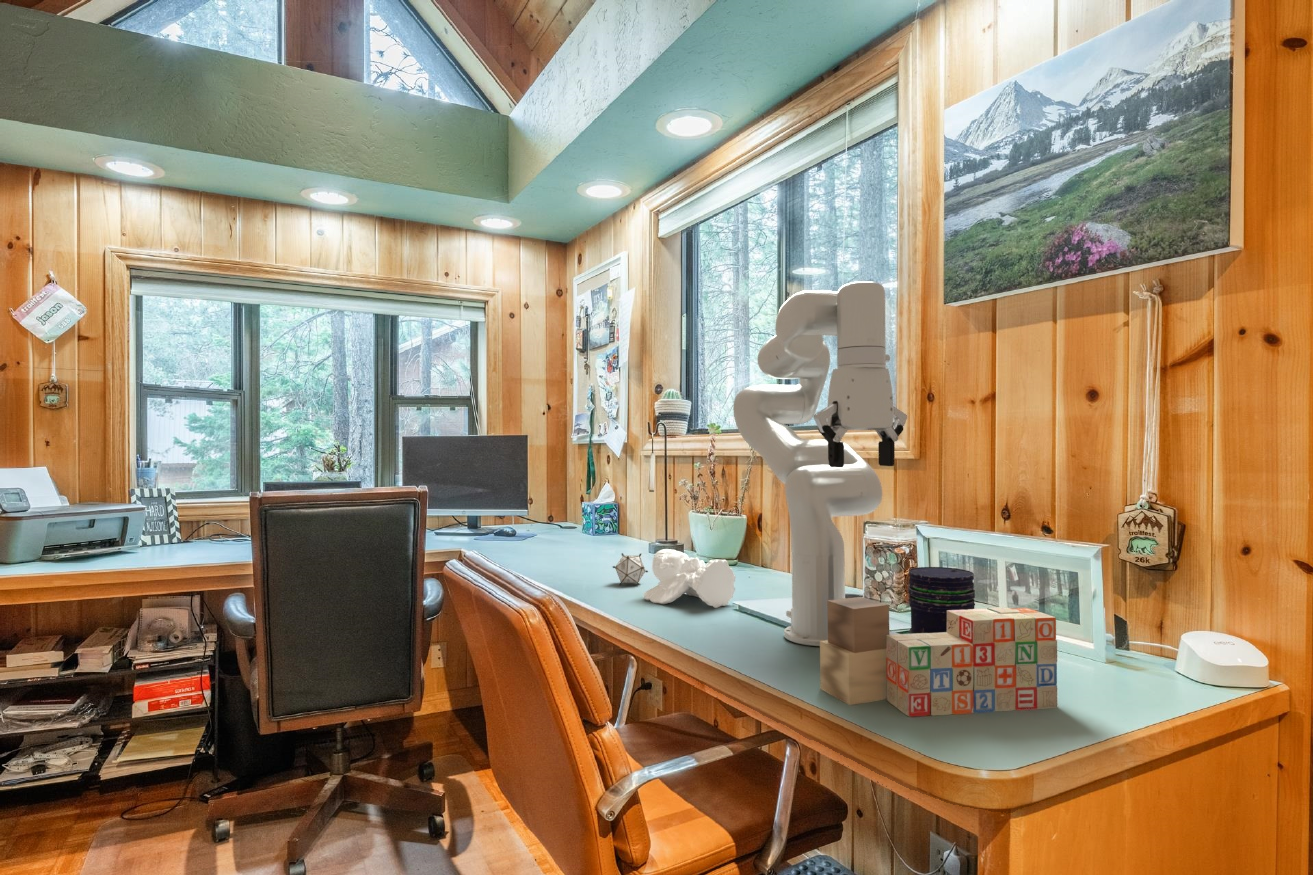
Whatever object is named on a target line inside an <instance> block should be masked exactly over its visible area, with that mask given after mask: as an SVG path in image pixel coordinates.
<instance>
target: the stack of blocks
mask: <svg viewBox="0 0 1313 875" xmlns="http://www.w3.org/2000/svg"><path fill="white" fill-rule="evenodd" d="M1057 670H1058V640H1057V618H1056V617H1055V616H1053V615H1050V614H1048V613H1044V612H1040V611H1038V610H1034V609H1032V608H1029V607H1006V606H1005V607H1004V606H999V607H998V606H997V607H986V608H974V609H968V610H947V632H940V633H916V634H910V633H907V634H906V633H903V634H902V633H899V634H895V635H887V657H886V677H887V699H886V701H887V702H888V703H890V704H891V705H892V706H894V707H895V708H896V709H898V711H900V712H901V713H903V714H904V715H905V716H907V717H909V718H910V717H911V718H912V717H924V716H946V715H966V714H974V713H975V714H977V713H989V712H990V713H991V712H1004V711H1006V712H1007V711H1023V710H1036V709H1038V710H1039V709H1040V710H1041V709H1054V708H1058V707H1059V706H1058V672H1057Z"/></svg>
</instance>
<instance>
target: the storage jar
mask: <svg viewBox="0 0 1313 875" xmlns="http://www.w3.org/2000/svg"><path fill="white" fill-rule="evenodd" d="M908 577H909V579H908V587H907V588H908V590H907V591H908V600H907V601H908V604H909V606H910V628H909V634H916V633H940V632H947V610H968V609H975V606H976V603H975V598H976V597H975V596H976V593H975V592H976V591H975V582H974V580H975V575H974V572H973V571H971V570H970V571H969V570H967V569H961V568H955V567H944V566H943V567H942V566H919V567H913V568H910V569H908Z"/></svg>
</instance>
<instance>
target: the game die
mask: <svg viewBox="0 0 1313 875" xmlns="http://www.w3.org/2000/svg"><path fill="white" fill-rule="evenodd" d="M620 555H621V558H620V560H619V561H618V562H617V564H616V565H612V569H615V570H616V574H617V576H618V579H619V581H620V582H619V586H622V584H637V586H639V587H640V581H641V579H642V577H643V576H644V574H645V573H649V571H648V570H647V569H646V568H645V566H644V563H643V561H642V559H641V556H642V553H639V555H625V554H624V553H623V552H622V553H621V554H620Z"/></svg>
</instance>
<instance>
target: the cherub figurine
mask: <svg viewBox="0 0 1313 875" xmlns="http://www.w3.org/2000/svg"><path fill="white" fill-rule="evenodd" d="M652 572H653V575H654V577H656V579H658V581H659V582H658V584H657V585H656V586H653V587H651V588H649V589H648V590H646V591H645V592H644V594H643V599H644V600H646V601H650V602H651V603H653V604H661V605H667V604H668V603H674V602H675V601H676V600H677V599H678V598H680V597H682V596H683V594H686V595H687V596H689V597H695V598H699V599H700V600H702V602H703V603H705V604H706V605H708V607H709V606H710V607H713V609H718V608H720V607H721V606H723V607H725V606H727V605H728V604H729V602H730V601H731V600H732V599H733V597H734V594H735V592H736V587H735V582H736V575H735V573H734V571H733V568H732V567H730V565H729V562H728V560H726V559H714V560H711V559H710V560H708V562H706V563H705V561H704V560H701V559H700V558H699V557H689V555H688V554H686V553H684V552H682V551H680V550H676V549H669V548H663V549H660V550H658V551H657V552H655V554H654V556H653V559H652Z"/></svg>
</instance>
